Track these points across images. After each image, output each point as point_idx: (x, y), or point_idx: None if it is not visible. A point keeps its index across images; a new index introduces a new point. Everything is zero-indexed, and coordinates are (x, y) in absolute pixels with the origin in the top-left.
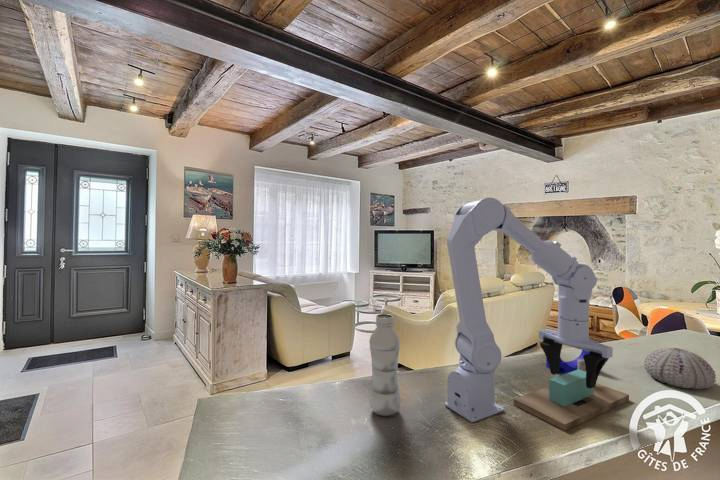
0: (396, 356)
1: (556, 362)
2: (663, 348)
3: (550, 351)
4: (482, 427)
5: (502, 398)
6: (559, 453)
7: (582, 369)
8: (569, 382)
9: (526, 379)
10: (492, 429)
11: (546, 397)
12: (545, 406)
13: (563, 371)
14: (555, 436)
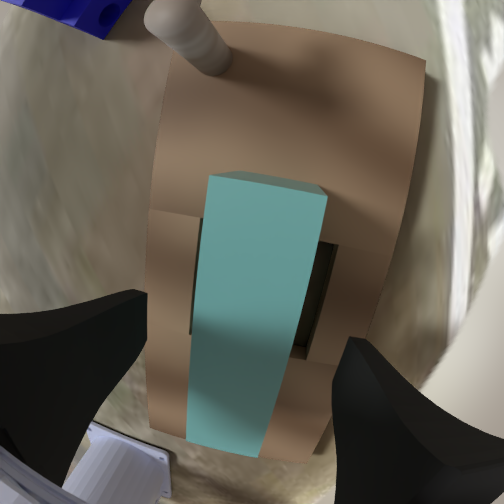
0: None
1: (108, 346)
2: None
3: (71, 454)
4: (189, 496)
5: (119, 400)
6: (320, 496)
7: (202, 48)
8: (261, 428)
9: (61, 209)
10: (203, 496)
11: None
12: None
13: (118, 8)
14: (297, 472)
